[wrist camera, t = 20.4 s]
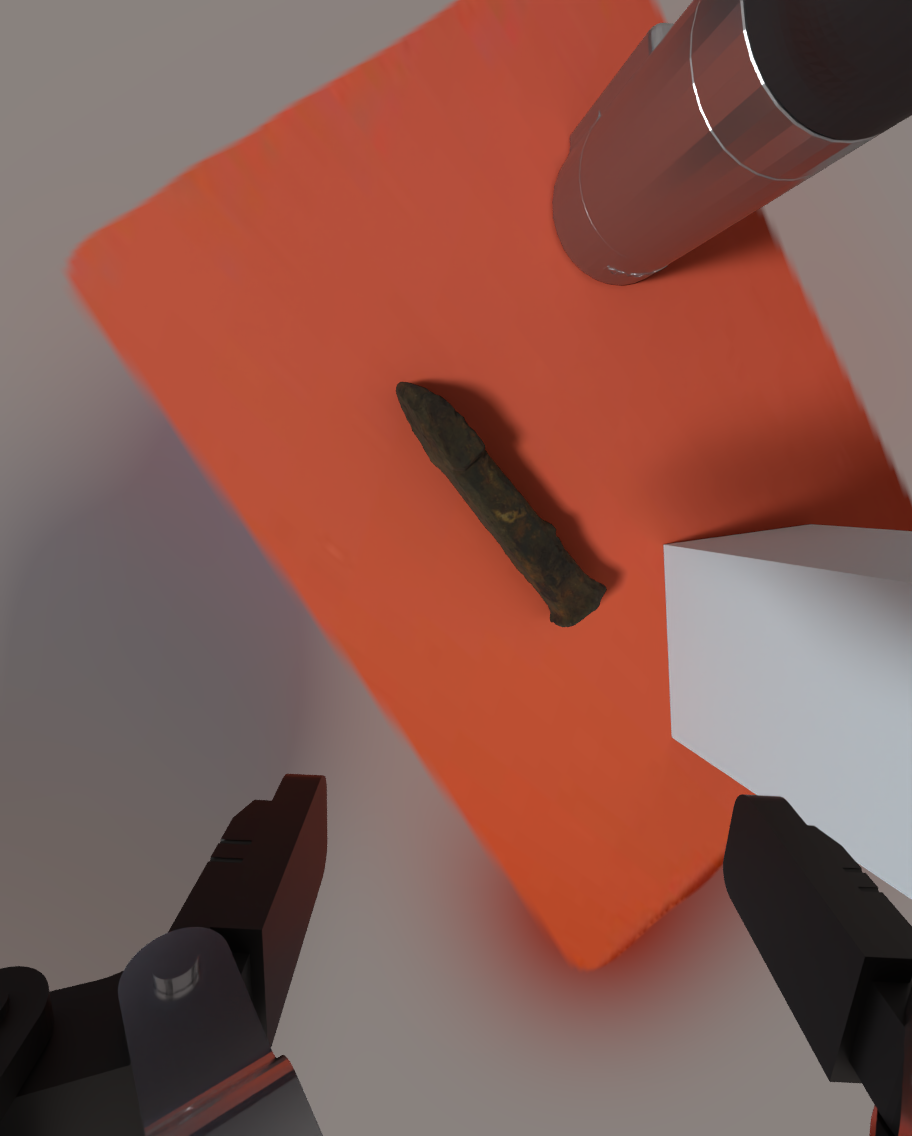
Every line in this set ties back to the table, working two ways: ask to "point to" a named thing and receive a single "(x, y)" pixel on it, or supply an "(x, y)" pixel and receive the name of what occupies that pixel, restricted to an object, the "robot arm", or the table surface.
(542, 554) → the hand tool
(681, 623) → the light grey cabinet
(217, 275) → the table surface
